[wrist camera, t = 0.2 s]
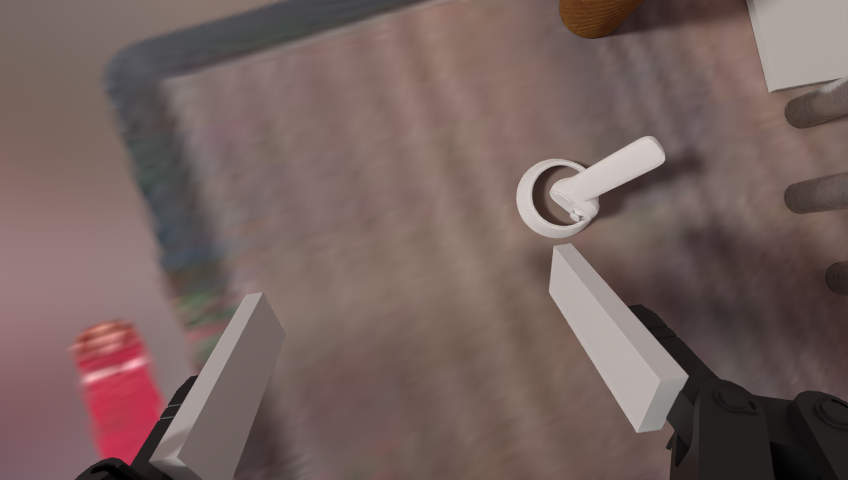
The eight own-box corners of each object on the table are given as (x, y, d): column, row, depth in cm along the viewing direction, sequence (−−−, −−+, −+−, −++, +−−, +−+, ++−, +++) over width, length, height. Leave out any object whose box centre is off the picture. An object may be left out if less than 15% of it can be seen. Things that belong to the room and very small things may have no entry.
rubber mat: (933, 63, 30) (943, 59, 30) (768, 92, 30) (775, 89, 30) (898, -62, 31) (907, -68, 31) (737, -33, 31) (743, -39, 31)
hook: (695, 146, 25) (704, 199, 21) (567, 213, 35) (556, 258, 30) (635, 79, 24) (631, 121, 20) (519, 167, 33) (500, 208, 29)
